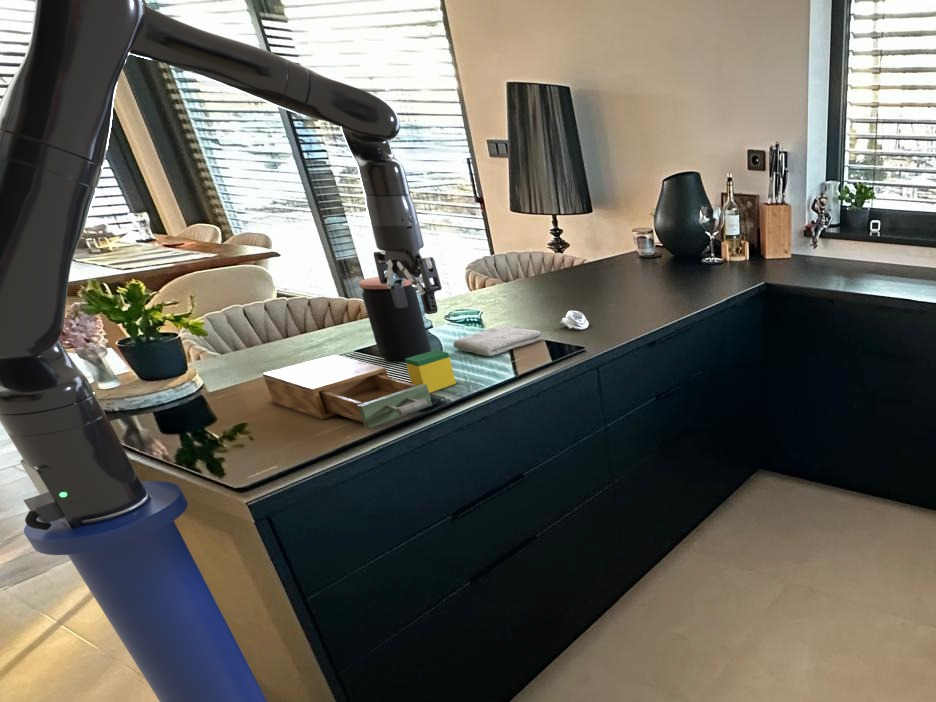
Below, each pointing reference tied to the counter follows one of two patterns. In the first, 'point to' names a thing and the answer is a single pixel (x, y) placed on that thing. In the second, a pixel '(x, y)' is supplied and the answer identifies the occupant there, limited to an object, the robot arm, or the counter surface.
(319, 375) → the cabinet
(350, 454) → the counter surface
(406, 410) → the drawer
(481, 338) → the washcloth
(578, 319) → the whipped cream
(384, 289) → the coffee jar
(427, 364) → the sponge
